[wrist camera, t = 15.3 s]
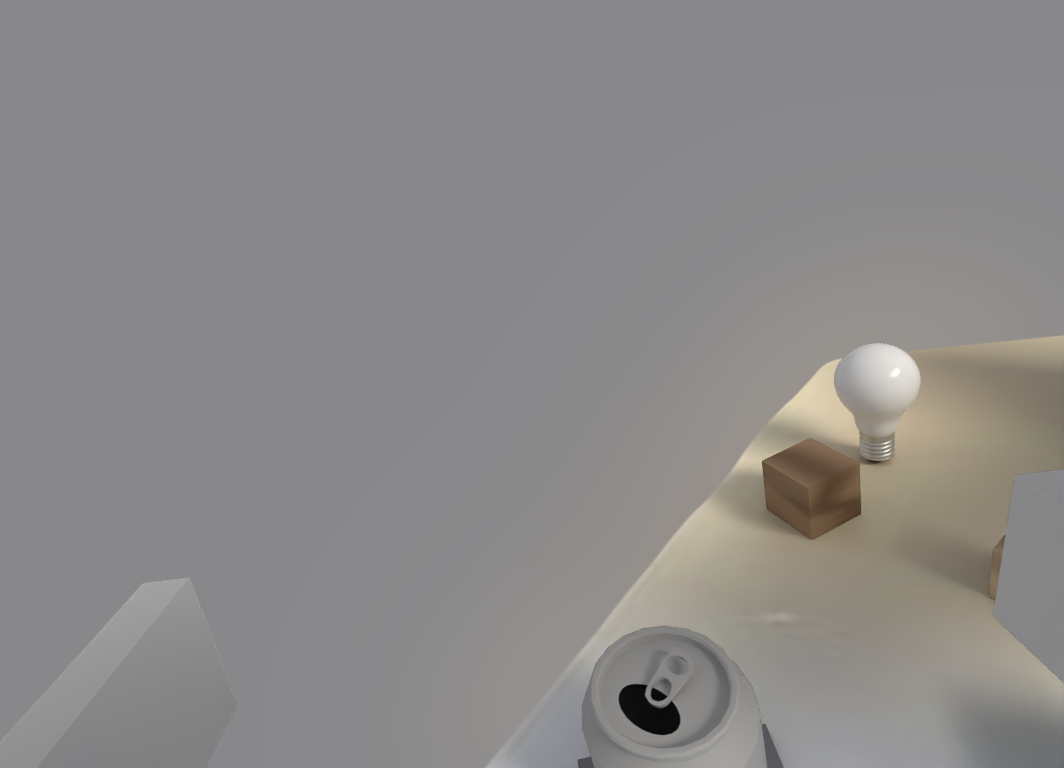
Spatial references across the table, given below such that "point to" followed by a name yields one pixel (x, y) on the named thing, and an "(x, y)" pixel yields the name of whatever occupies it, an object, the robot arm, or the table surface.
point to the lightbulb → (877, 393)
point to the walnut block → (812, 487)
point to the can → (671, 705)
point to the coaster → (771, 754)
